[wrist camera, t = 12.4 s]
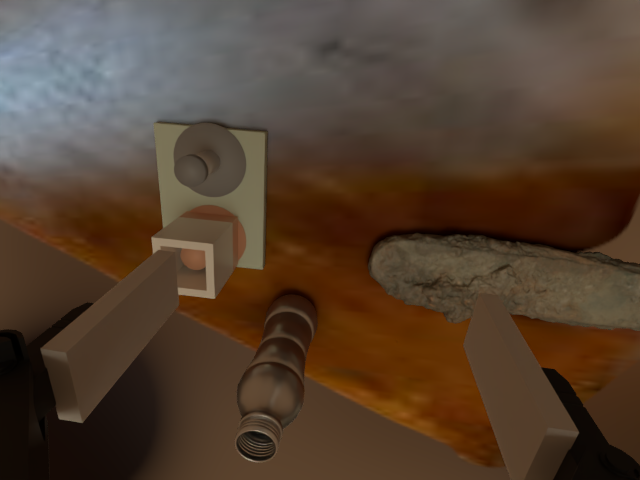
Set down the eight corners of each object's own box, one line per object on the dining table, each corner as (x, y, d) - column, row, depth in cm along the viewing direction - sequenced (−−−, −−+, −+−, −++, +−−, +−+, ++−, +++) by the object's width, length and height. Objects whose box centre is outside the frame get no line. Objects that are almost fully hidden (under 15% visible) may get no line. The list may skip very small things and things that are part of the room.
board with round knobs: (158, 117, 41) (123, 122, 35) (267, 126, 41) (251, 134, 34) (170, 258, 48) (142, 284, 42) (264, 268, 47) (250, 296, 41)
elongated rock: (641, 328, 47) (676, 254, 44) (678, 354, 42) (721, 273, 39) (361, 293, 47) (374, 216, 43) (364, 316, 42) (379, 230, 38)
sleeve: (186, 211, 44) (151, 237, 36) (237, 216, 43) (213, 244, 36) (189, 258, 46) (157, 291, 39) (238, 263, 46) (214, 298, 38)
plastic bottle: (268, 327, 50) (215, 468, 32) (272, 283, 48) (217, 408, 29) (316, 335, 50) (291, 481, 32) (322, 291, 48) (299, 422, 29)
